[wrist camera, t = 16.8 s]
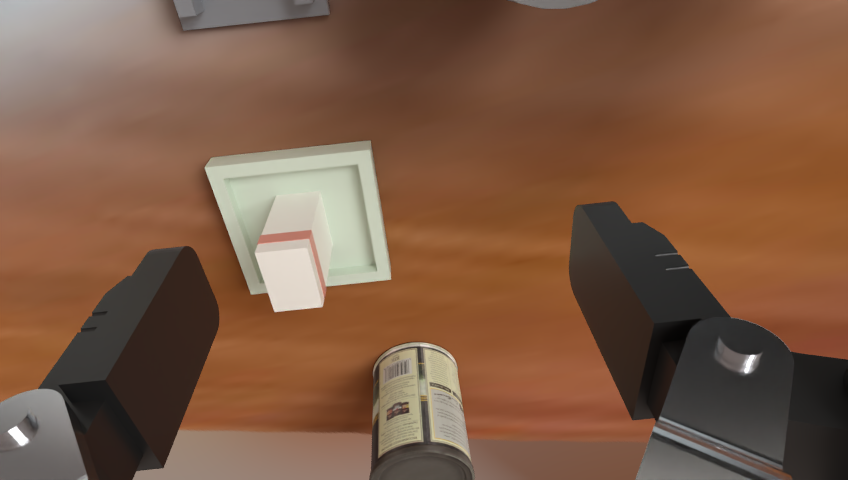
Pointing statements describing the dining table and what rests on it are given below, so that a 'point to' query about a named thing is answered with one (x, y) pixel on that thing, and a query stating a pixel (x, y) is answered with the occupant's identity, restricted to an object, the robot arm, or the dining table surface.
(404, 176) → the dining table surface
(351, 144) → the tray
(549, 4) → the reusable coffee cup
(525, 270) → the dining table surface
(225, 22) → the grey holder
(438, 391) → the coffee can
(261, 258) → the white banded brick
